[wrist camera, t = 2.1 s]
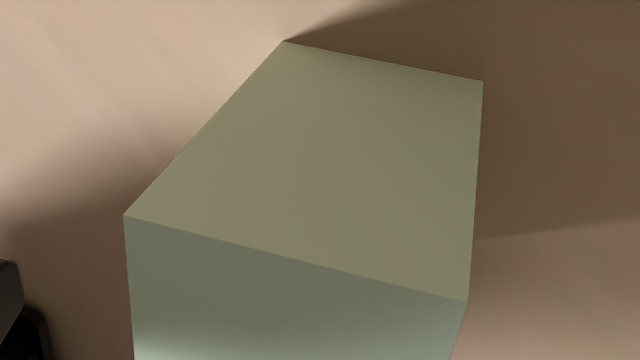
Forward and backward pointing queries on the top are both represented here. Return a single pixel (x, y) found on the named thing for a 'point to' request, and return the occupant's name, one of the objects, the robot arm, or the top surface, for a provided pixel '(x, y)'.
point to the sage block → (313, 218)
